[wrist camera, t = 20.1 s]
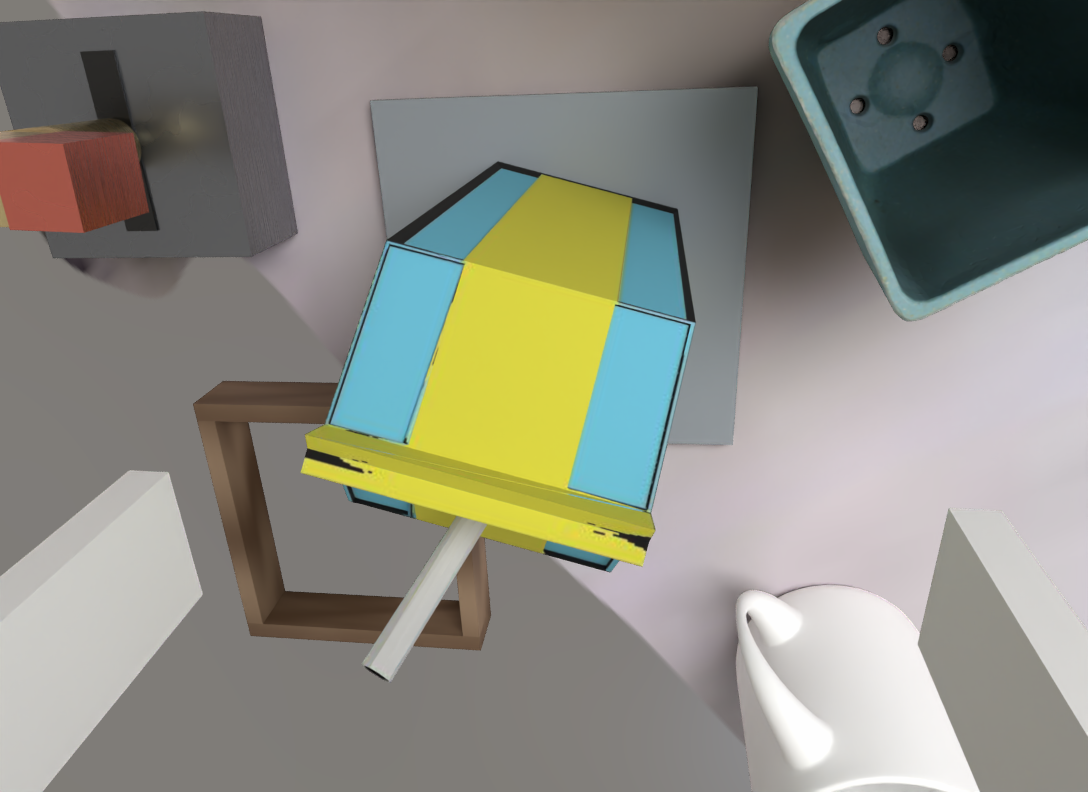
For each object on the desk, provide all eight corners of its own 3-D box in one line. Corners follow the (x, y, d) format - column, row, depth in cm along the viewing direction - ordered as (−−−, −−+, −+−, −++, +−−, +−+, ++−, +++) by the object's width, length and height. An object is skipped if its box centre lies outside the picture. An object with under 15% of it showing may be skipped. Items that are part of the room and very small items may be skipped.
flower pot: (1080, 126, 26) (1272, 160, 18) (833, 253, 29) (903, 331, 21) (990, -130, 24) (1167, -224, 16) (729, 35, 26) (763, 28, 18)
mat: (375, 100, 29) (370, 100, 28) (755, 86, 27) (757, 87, 26) (415, 430, 35) (411, 436, 34) (731, 438, 33) (732, 444, 32)
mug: (810, 493, 33) (875, 674, 24) (956, 668, 36) (1067, 894, 26) (653, 586, 36) (654, 780, 27) (799, 741, 39) (847, 967, 30)
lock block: (64, 26, 29) (-21, 23, 26) (261, 16, 28) (201, 11, 24) (119, 235, 32) (51, 258, 29) (297, 233, 31) (250, 257, 28)
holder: (222, 381, 35) (193, 403, 33) (471, 385, 33) (458, 409, 31) (273, 602, 40) (250, 636, 38) (490, 615, 38) (480, 650, 36)
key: (6, 173, 27) (-240, 219, 20) (-11, 110, 27) (-274, 134, 19) (246, 180, 26) (84, 233, 19) (237, 116, 25) (62, 143, 18)
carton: (453, 347, 32) (244, 656, 16) (490, 159, 29) (274, 302, 12) (625, 393, 32) (595, 754, 15) (682, 210, 28) (721, 423, 12)
